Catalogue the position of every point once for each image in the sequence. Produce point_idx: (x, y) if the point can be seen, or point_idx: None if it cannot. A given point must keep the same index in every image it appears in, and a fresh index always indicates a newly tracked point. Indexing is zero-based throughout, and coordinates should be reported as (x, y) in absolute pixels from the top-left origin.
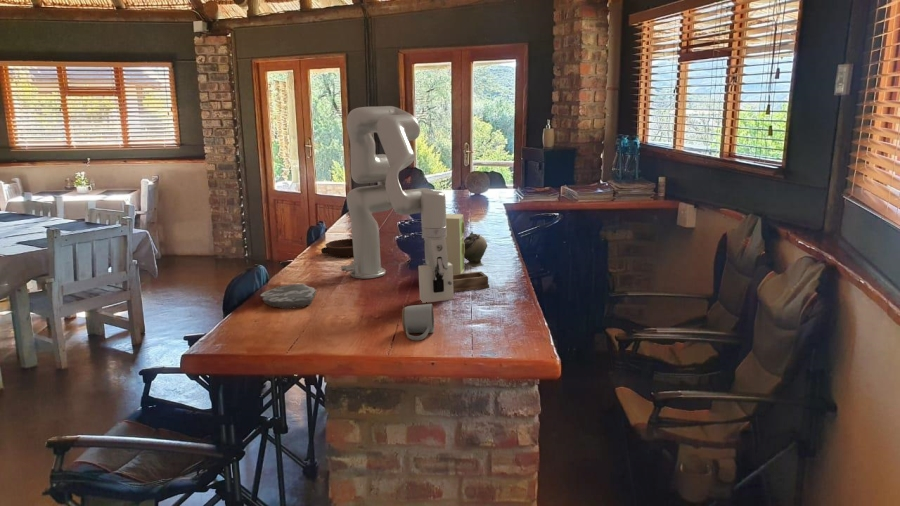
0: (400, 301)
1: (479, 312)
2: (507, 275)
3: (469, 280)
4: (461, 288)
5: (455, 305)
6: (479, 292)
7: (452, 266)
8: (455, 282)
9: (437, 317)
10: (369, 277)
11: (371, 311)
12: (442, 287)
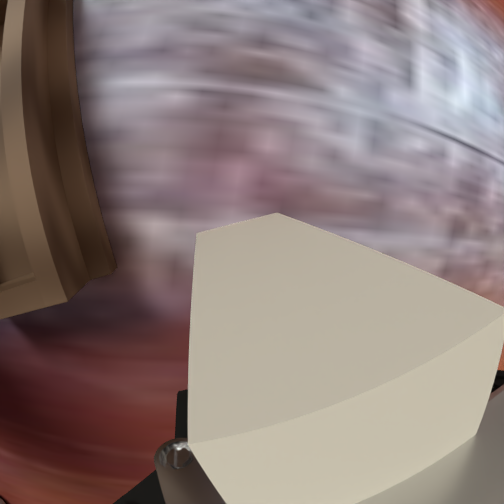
0: None
1: (482, 118)
2: None
3: (28, 73)
4: (78, 144)
5: (397, 212)
6: (148, 27)
7: (483, 304)
8: (44, 192)
9: None
10: (2, 502)
11: None
12: None
